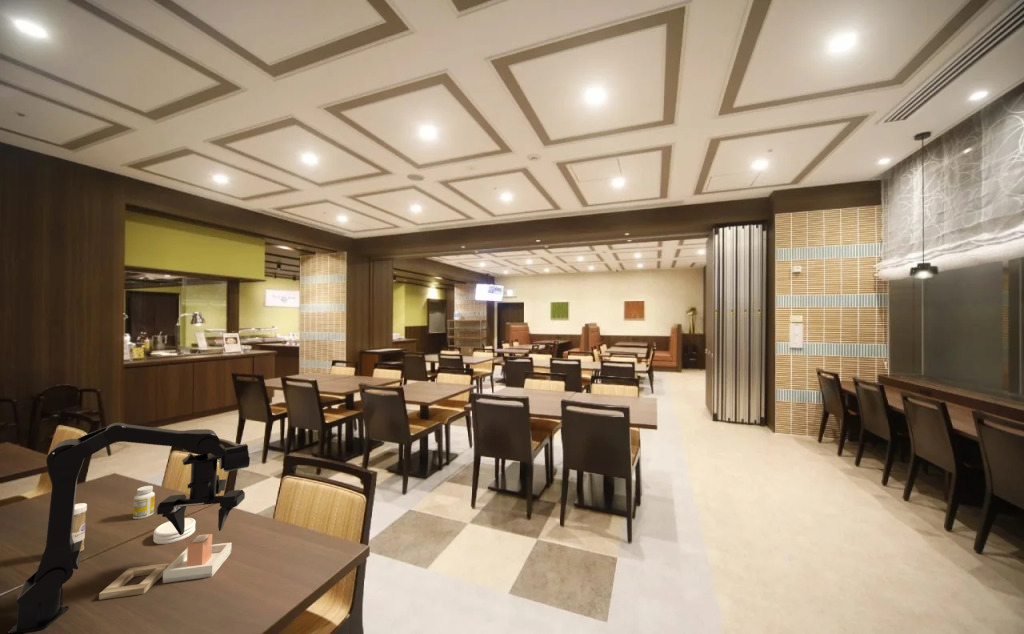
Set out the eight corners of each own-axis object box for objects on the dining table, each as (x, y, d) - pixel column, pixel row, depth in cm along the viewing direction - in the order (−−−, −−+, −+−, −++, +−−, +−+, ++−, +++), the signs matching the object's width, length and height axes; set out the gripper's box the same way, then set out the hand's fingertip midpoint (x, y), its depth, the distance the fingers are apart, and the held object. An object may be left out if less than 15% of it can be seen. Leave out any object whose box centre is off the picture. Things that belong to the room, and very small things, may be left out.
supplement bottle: (138, 520, 127) (139, 492, 127) (129, 517, 129) (130, 489, 129) (157, 513, 132) (158, 486, 132) (148, 510, 134) (149, 483, 134)
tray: (211, 576, 100) (212, 565, 100) (162, 583, 97) (163, 571, 97) (231, 552, 110) (231, 542, 110) (187, 557, 107) (187, 547, 108)
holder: (143, 593, 93) (144, 587, 93) (99, 599, 91) (99, 593, 91) (169, 568, 103) (169, 563, 103) (129, 573, 100) (129, 567, 100)
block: (201, 567, 102) (202, 542, 102) (186, 569, 101) (187, 543, 101) (211, 557, 107) (212, 532, 107) (196, 558, 106) (198, 533, 106)
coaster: (201, 532, 121) (202, 521, 121) (163, 548, 112) (163, 536, 112) (185, 525, 125) (185, 514, 125) (146, 540, 116) (147, 528, 116)
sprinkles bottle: (80, 554, 108) (83, 507, 109) (57, 559, 106) (60, 511, 106) (87, 546, 112) (89, 501, 113) (64, 550, 110) (67, 504, 110)
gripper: (253, 463, 115) (251, 514, 114) (181, 468, 110) (179, 521, 109) (237, 477, 104) (234, 533, 103) (156, 483, 99) (153, 542, 99)
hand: (201, 532), depth 104 cm, fingers open, 9 cm apart
